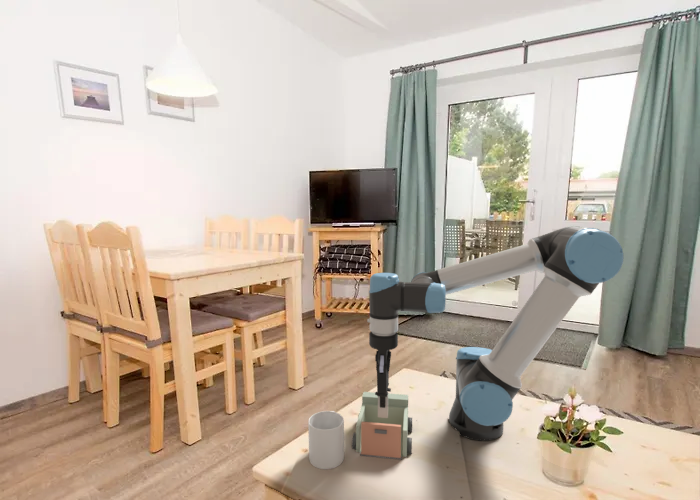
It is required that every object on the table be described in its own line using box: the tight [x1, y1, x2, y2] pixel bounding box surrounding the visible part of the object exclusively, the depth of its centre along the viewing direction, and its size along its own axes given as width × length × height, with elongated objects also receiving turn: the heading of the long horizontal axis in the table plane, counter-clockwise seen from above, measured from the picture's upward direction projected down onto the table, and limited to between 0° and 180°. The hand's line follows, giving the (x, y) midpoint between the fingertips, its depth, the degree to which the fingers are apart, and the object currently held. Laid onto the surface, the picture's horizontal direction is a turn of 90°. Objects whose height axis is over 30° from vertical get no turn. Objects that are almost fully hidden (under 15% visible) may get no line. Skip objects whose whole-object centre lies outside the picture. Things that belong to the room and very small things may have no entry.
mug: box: [307, 410, 345, 470], centre depth 100 cm, size 12×9×11 cm
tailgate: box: [359, 422, 403, 461], centre depth 99 cm, size 10×2×9 cm, turn 80°
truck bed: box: [351, 391, 413, 458], centre depth 107 cm, size 15×15×10 cm
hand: (382, 416), depth 106 cm, fingers closed
